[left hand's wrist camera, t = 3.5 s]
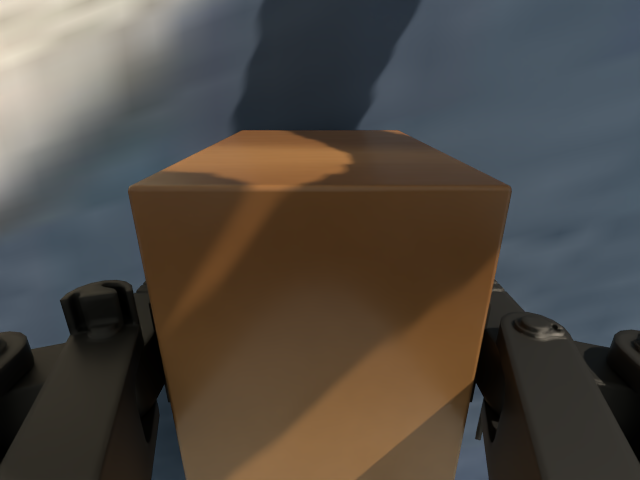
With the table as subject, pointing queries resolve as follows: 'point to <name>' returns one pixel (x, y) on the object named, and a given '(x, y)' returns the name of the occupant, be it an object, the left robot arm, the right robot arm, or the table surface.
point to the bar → (320, 302)
